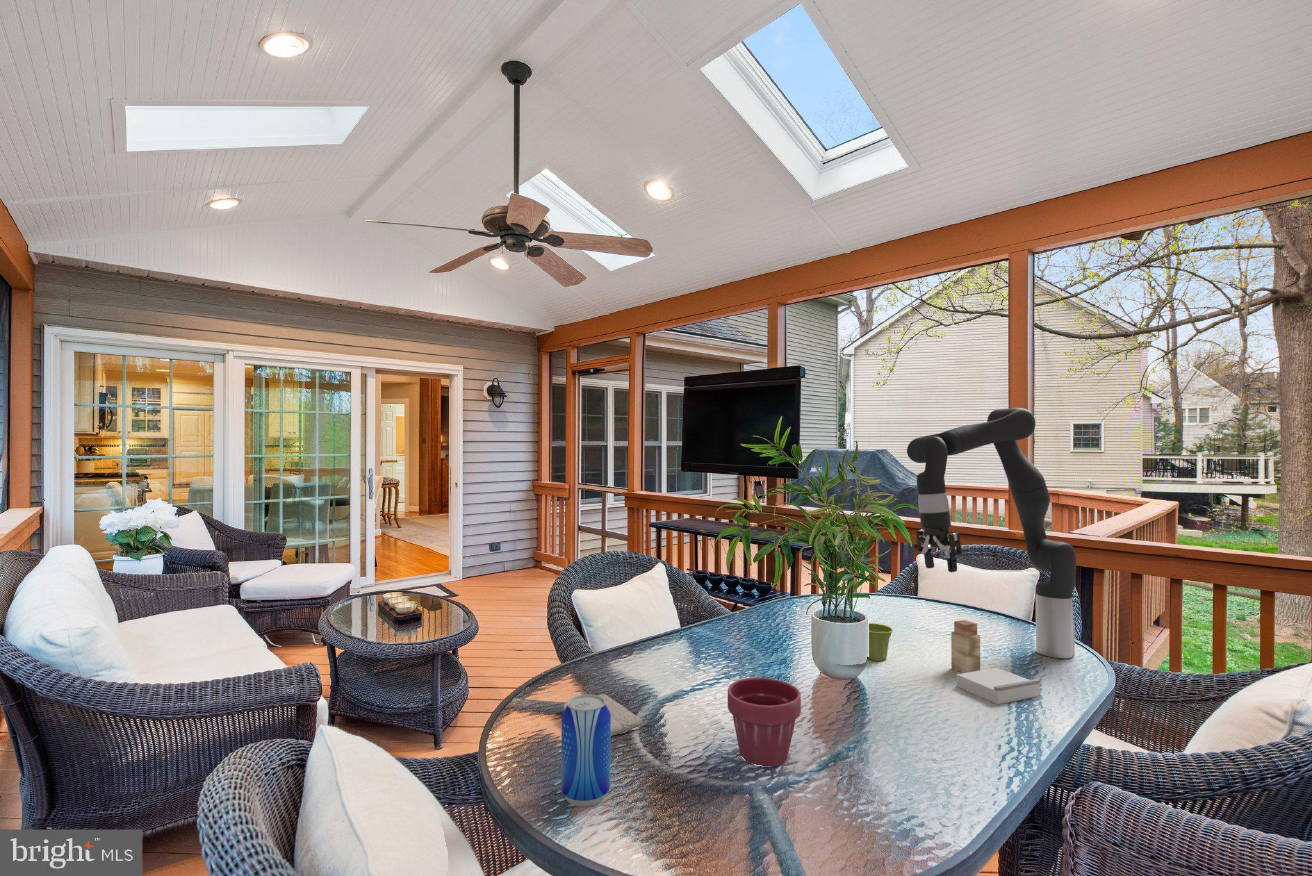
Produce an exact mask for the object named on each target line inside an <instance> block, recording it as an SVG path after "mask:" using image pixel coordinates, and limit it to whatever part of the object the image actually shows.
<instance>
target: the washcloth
mask: <svg viewBox="0 0 1312 876" xmlns="http://www.w3.org/2000/svg"><path fill="white" fill-rule="evenodd" d="M597 696H600V697H602V698H604V699H605V705H606V706H607V708H608V710H609V711H610V714H611V735H613V734H614V733H618V732H621V731H624V730H629V729H632V728H636V727H639V726H642V725H643V726H644V723H643V720H642V719H641V717H639V716H637V715H636V714H635V713H633V712H631V711H630V710H628V709H627V708H626V707H625V706H623V705H621V704H620V703H619V702H617V701H615V700H614V699H612V698H611V697H610V696H608V695H607V694H604V693H603V694H597ZM566 707H567V702H565V703H564V704H563V708H562V709H561V711H562V710H563V711H564V710H565V709H566Z"/></svg>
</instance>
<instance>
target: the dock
mask: <svg viewBox="0 0 1312 876" xmlns="http://www.w3.org/2000/svg"><path fill="white" fill-rule="evenodd" d="M955 681H956V687H957V686H958V687H957V688H959V687H960V689H961V688H962V690H964V689H965V690H964V691H966V690H968V691H969V692H968V691H967V692H968V693H971V692H972V693H971V694H973V695H975V694H976V696H978V697H980V696H981V697H980V698H982V697H983V698H982V699H984V700H987V699H988V700H987V701H990V702H991V701H992V703H993V704H996V705H1001V704H1005V703H1012V702H1016V701H1017V702H1018V701H1021V700H1026V699H1031V698H1036V697H1040V694H1041V693H1040V691H1041V690H1040V687H1041V686H1040V684H1041V683H1040V679H1037V678H1034V679H1028V678H1025V677H1022V676H1020V675H1017V674H1015V673H1012V672H1010V671H1007V670H1004V669H1002V668H999V667H993V668H987V669H982V670H981V669H980V671H974V672H968V673H962V672H961V673H958V674H956V680H955Z"/></svg>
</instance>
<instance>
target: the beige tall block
mask: <svg viewBox="0 0 1312 876" xmlns="http://www.w3.org/2000/svg"><path fill="white" fill-rule="evenodd" d="M953 628H954V629H953V631H951V632H950V633H951V635H950V636H951V637H950V639H951V641H950V643H951V645H950V646H951V650H950V651H951V653H950V654H951V657H950V658H951V663H950V664H951V667H952V668H953V669H952V668H951V669H952V670H954V669H956V670H955V671H957V670H958V671H957V672H959V671H961V672H960V673H962V672H963V673H968V672H974V671H980V670H981V634H978V623H976V622H973V621H970V620H967V619H962V620H961V619H960V620H954V621H953Z"/></svg>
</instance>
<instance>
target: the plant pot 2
mask: <svg viewBox="0 0 1312 876" xmlns="http://www.w3.org/2000/svg"><path fill="white" fill-rule="evenodd" d="M868 623H869V658H868V659H869V660H871V661H876V662H877V661H878V662H881V661H884V660H887V657H888V650H889V644H890V643H889V642H890V638H891V636H892V633H893V631H894V629H893V628H892V627H891V626H888V625H886V624H881V623H876V622H875V623H874V622H868Z"/></svg>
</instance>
